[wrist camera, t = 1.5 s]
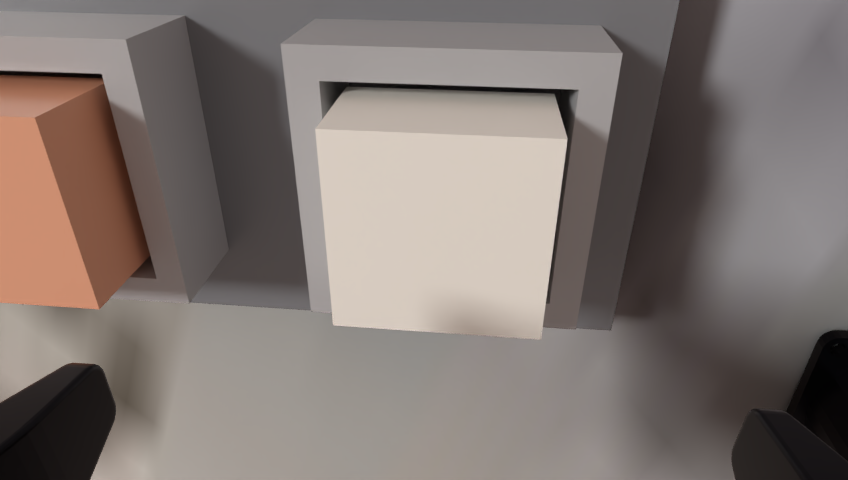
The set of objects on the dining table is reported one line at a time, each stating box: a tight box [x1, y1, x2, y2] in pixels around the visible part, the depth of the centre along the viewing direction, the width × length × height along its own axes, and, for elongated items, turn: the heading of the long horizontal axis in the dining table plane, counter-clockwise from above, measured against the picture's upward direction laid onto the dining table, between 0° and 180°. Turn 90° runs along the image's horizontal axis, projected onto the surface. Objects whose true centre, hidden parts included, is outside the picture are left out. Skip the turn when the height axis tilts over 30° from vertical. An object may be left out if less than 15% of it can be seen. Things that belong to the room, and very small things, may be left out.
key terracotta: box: [0, 75, 150, 309], centre depth 15 cm, size 5×5×3 cm
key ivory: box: [315, 87, 568, 340], centre depth 14 cm, size 5×5×3 cm
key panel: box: [0, 0, 680, 330], centre depth 17 cm, size 12×22×5 cm, turn 90°
